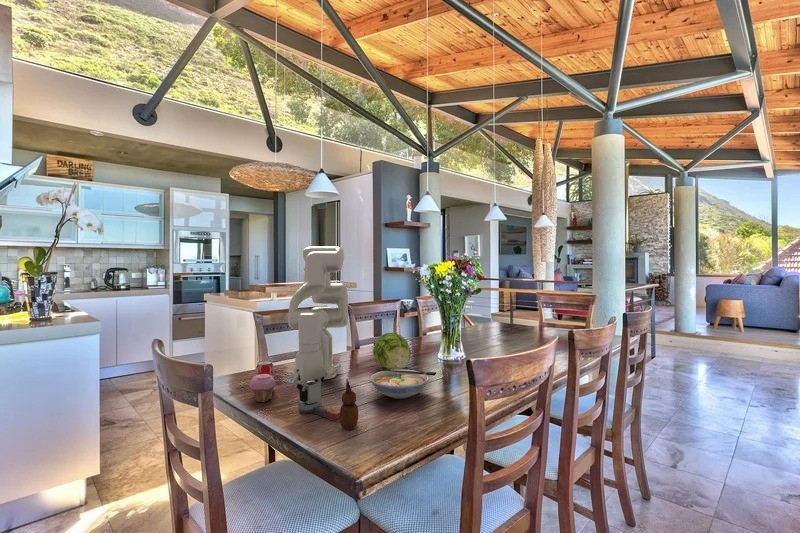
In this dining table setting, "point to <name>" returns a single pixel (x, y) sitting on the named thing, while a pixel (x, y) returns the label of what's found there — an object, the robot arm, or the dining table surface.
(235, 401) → the dining table surface
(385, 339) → the lettuce
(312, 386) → the socket
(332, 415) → the ratchet
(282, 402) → the dining table surface
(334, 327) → the robot arm
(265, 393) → the cupcake
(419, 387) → the ramen bowl
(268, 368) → the soda can
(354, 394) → the wooden figurine
